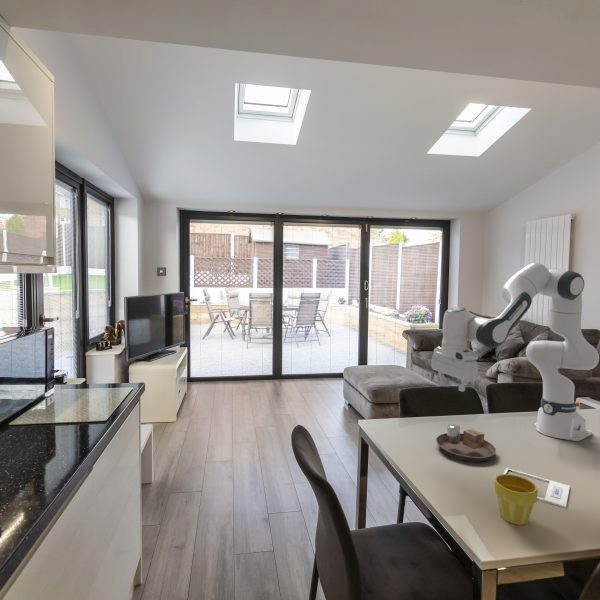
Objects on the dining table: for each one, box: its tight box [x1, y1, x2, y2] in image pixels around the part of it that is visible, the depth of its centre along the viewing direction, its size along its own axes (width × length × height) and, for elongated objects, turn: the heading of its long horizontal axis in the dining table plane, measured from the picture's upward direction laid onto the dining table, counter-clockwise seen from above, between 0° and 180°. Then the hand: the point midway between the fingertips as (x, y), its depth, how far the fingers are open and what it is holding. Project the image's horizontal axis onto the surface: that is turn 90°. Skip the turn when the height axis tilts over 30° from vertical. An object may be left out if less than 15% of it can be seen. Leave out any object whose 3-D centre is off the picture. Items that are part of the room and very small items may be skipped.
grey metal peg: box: [446, 423, 461, 444], centre depth 151 cm, size 4×4×6 cm
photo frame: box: [502, 467, 571, 509], centre depth 126 cm, size 15×1×18 cm
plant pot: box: [493, 473, 539, 526], centre depth 109 cm, size 10×10×10 cm
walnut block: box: [462, 428, 485, 449], centre depth 149 cm, size 5×5×5 cm
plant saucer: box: [435, 432, 497, 463], centre depth 150 cm, size 21×21×3 cm
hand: (452, 387), depth 151 cm, fingers open, 8 cm apart
